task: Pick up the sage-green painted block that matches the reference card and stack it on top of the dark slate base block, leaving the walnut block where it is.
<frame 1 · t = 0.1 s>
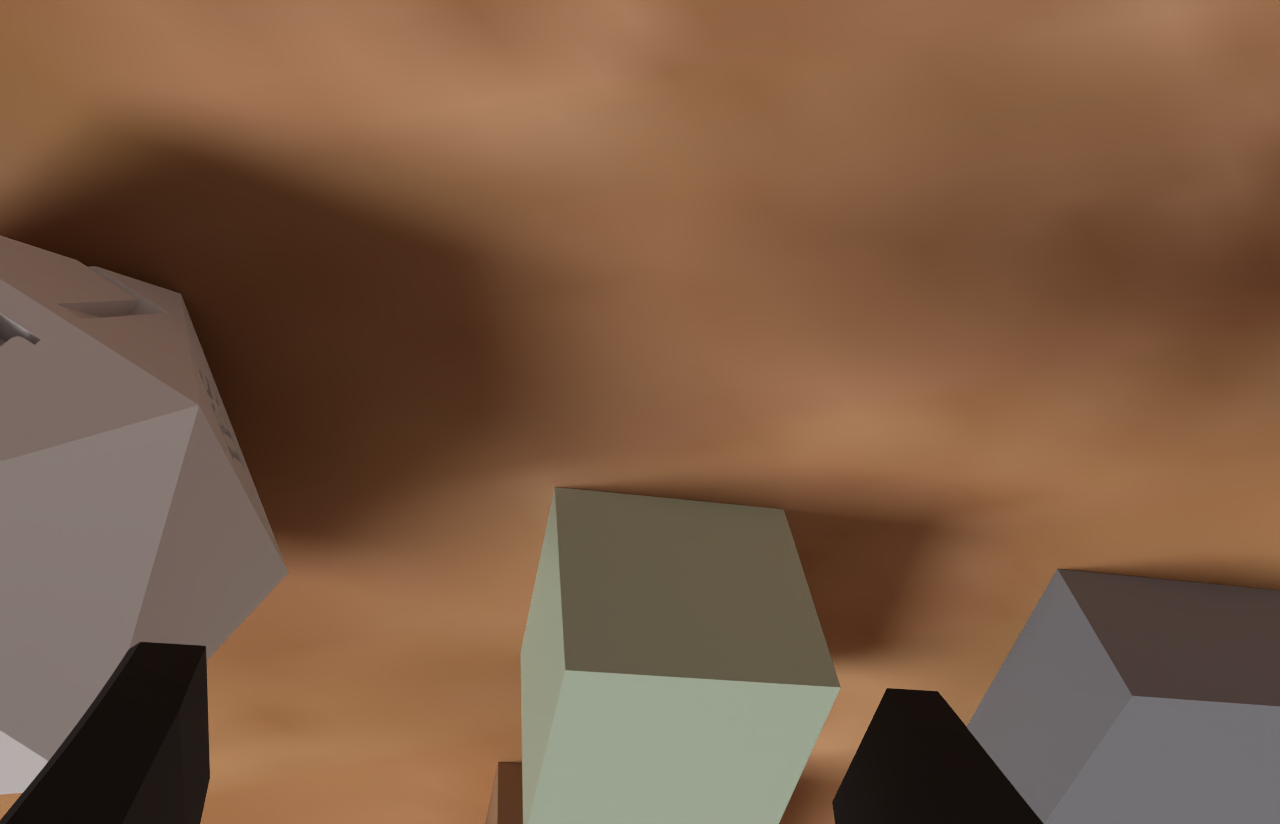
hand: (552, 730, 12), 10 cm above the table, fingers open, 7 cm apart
slate base: (1118, 672, 28), on the table
walnut block: (578, 822, 29), on the table
die: (55, 367, 20), on the table
sage block: (647, 581, 24), on the table
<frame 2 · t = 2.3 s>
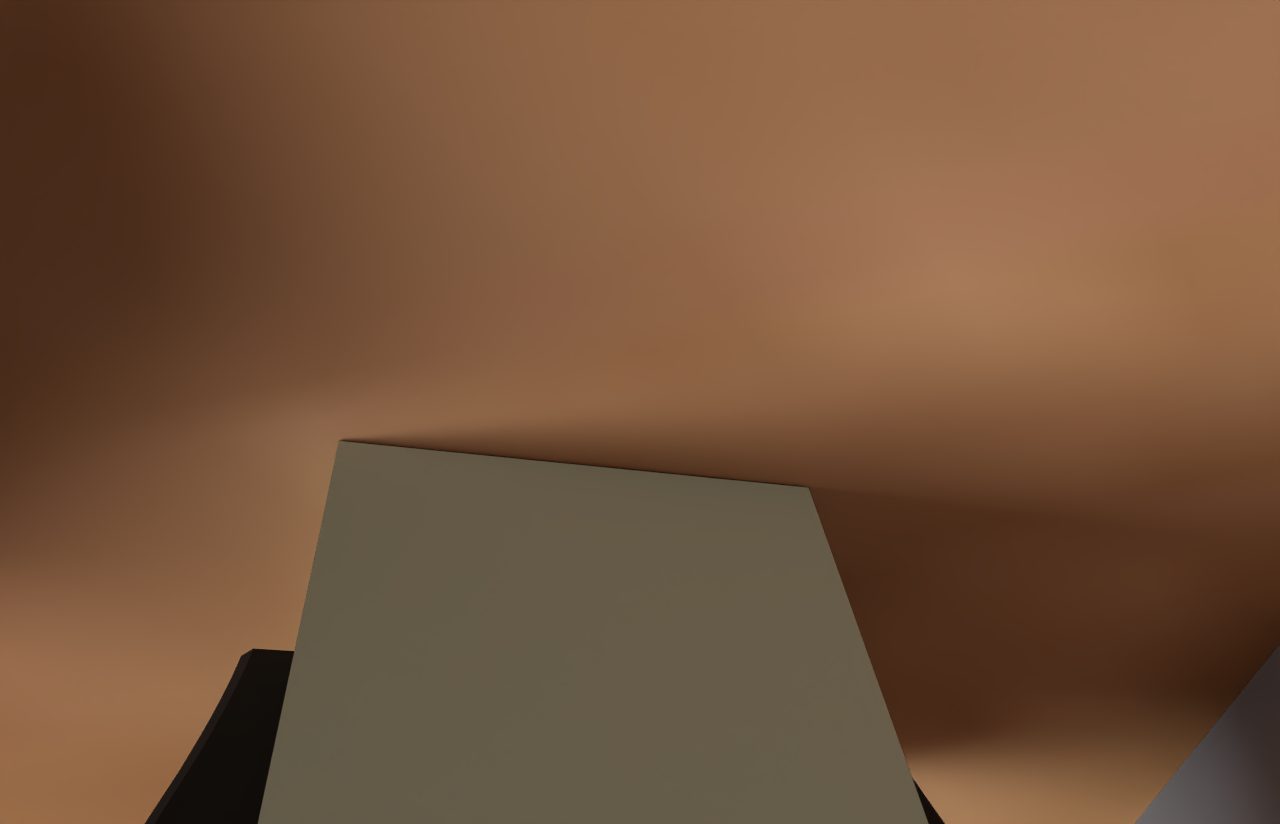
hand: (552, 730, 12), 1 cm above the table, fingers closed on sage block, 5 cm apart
sage block: (547, 632, 13), on the table, touching gripper
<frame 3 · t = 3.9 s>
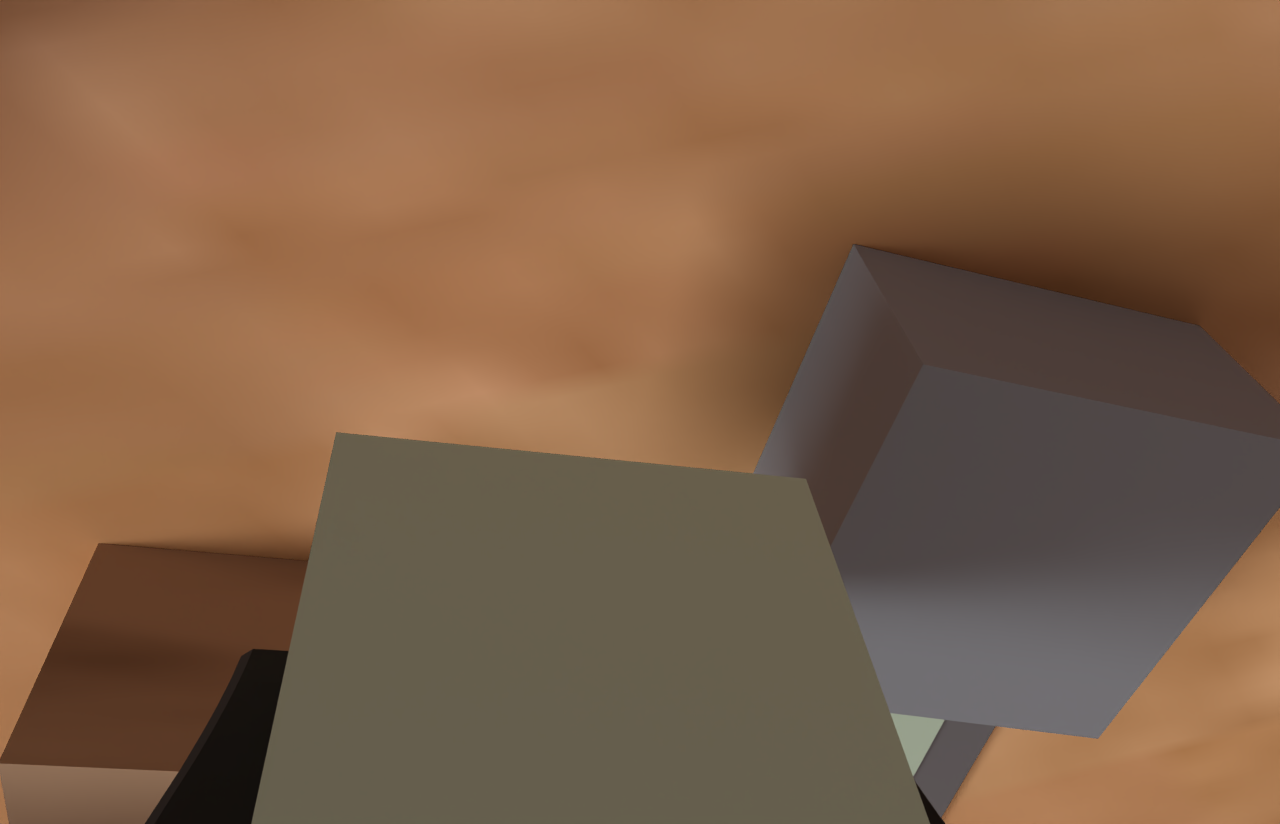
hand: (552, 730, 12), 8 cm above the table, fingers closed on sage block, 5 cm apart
reference card: (810, 746, 26), on the table
slate base: (944, 436, 21), on the table
walnut block: (238, 643, 22), on the table
sage block: (545, 624, 13), point 7 cm above the table, touching gripper
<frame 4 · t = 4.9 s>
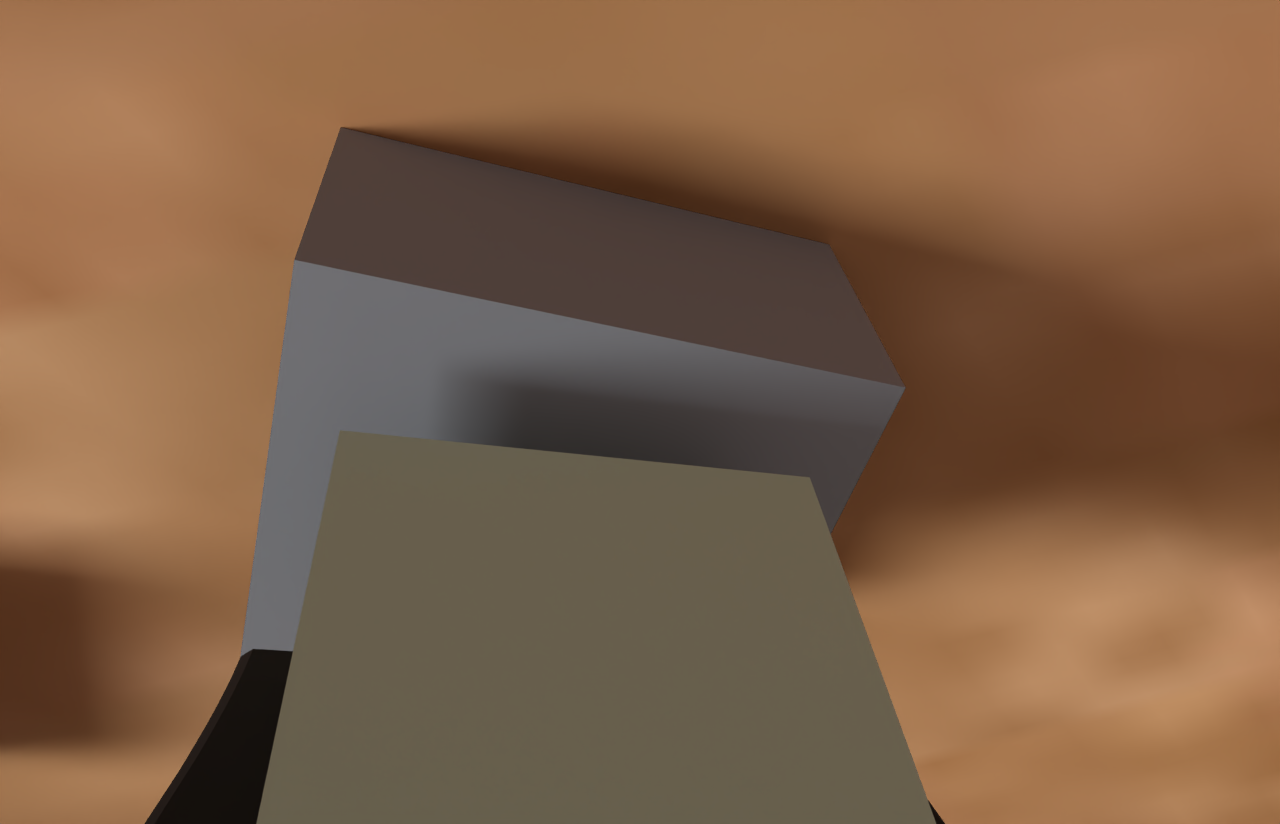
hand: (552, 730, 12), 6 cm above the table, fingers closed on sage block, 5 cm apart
slate base: (538, 385, 17), on the table
sage block: (548, 622, 13), point 5 cm above the table, touching gripper
when the fingers open (6 cm above the table, at t = 5.7 s): sage block drops 1 cm, point 4 cm above the table.
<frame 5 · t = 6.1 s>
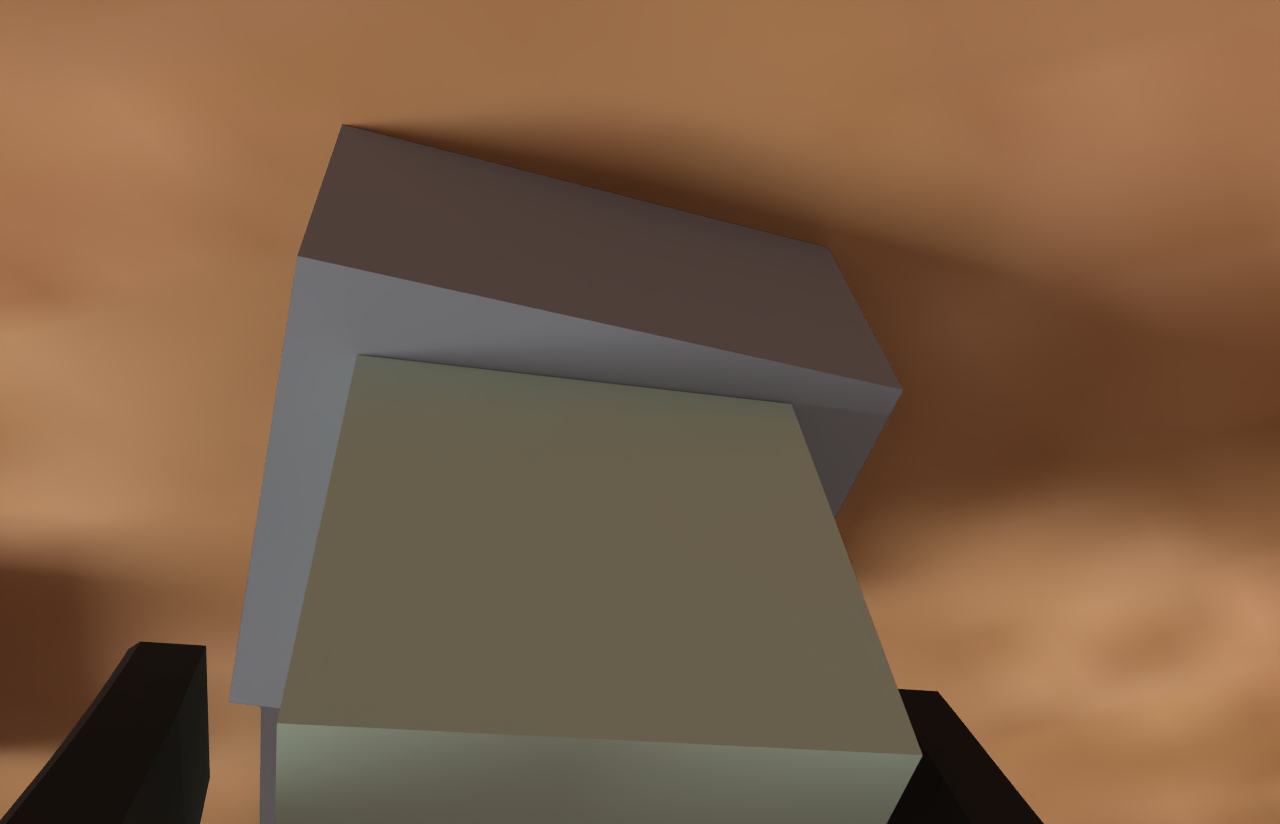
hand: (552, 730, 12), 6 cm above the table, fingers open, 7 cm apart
reference card: (472, 764, 22), on the table
slate base: (535, 383, 17), on the table
sage block: (549, 544, 14), point 4 cm above the table
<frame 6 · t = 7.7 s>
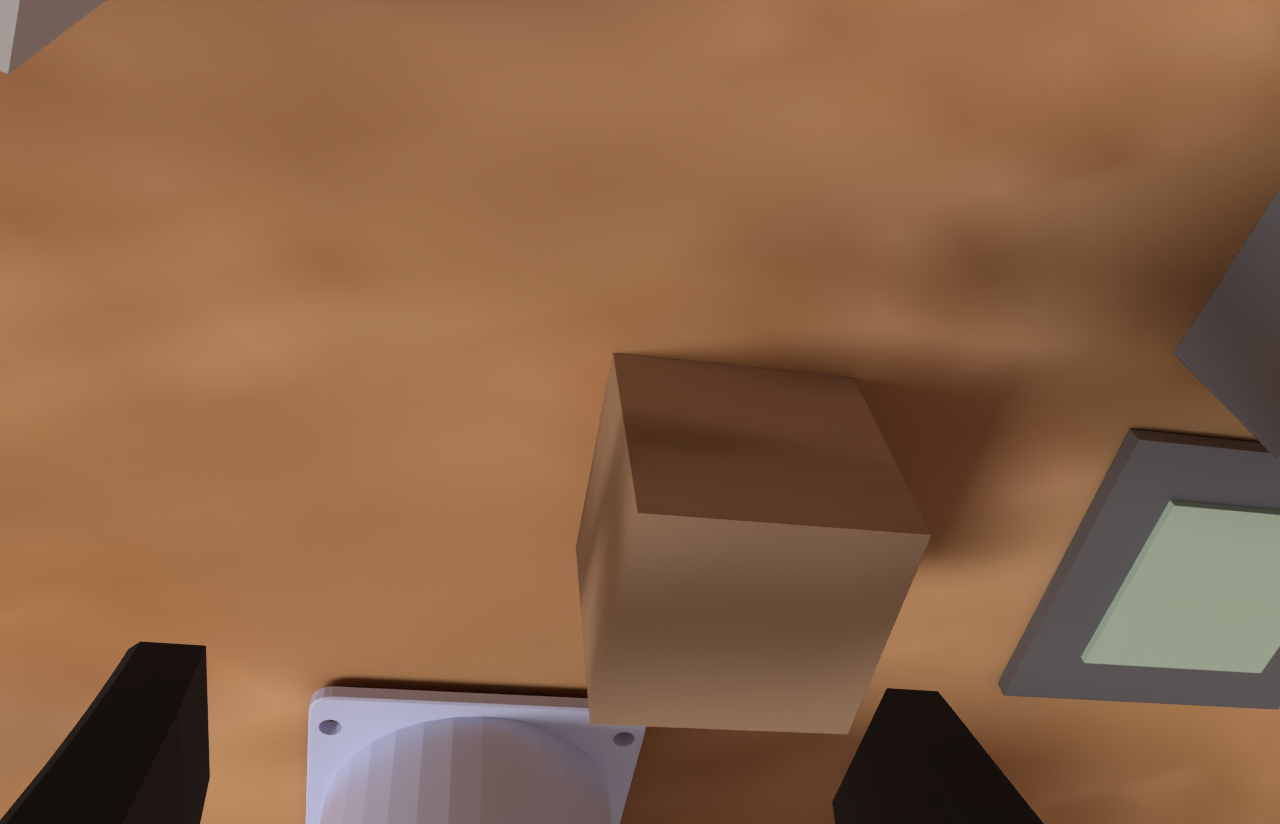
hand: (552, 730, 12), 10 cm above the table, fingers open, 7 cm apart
reference card: (1207, 578, 27), on the table
walnut block: (709, 463, 23), on the table
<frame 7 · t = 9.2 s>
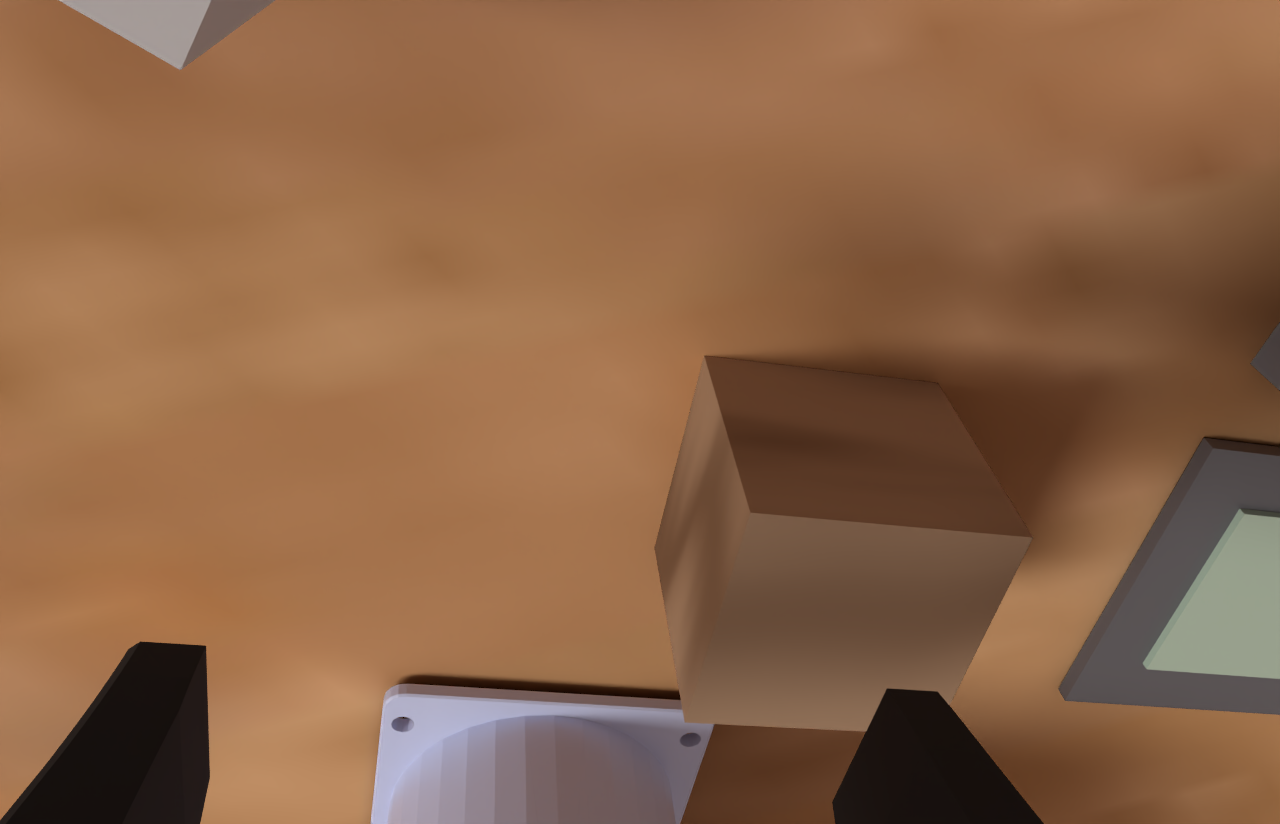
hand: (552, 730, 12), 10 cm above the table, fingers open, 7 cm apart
reference card: (1269, 586, 27), on the table
walnut block: (790, 466, 23), on the table
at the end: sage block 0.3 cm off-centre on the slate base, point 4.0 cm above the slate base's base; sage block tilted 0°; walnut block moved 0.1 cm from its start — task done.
